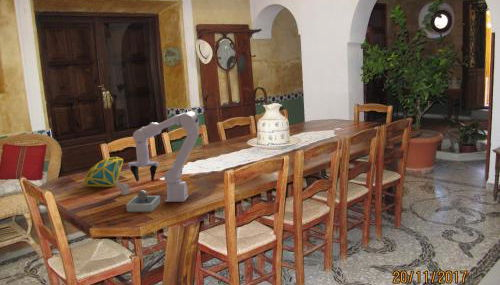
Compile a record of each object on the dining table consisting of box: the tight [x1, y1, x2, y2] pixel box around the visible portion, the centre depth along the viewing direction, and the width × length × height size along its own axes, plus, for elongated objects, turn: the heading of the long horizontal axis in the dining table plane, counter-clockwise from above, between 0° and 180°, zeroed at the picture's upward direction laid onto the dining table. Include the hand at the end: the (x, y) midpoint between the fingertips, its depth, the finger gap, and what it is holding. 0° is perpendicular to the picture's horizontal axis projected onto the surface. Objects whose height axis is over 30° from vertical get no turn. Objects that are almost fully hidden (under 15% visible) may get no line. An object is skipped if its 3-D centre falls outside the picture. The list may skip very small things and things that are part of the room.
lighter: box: [115, 180, 130, 196], centre depth 237 cm, size 7×2×8 cm, turn 141°
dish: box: [125, 195, 161, 213], centre depth 217 cm, size 12×12×4 cm
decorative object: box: [84, 156, 124, 188], centre depth 253 cm, size 23×23×15 cm
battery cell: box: [137, 189, 148, 204], centre depth 216 cm, size 4×4×8 cm
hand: (145, 180), depth 227 cm, fingers open, 7 cm apart
